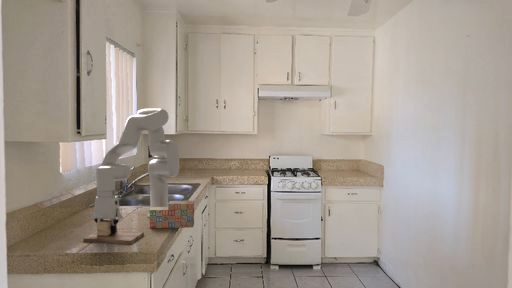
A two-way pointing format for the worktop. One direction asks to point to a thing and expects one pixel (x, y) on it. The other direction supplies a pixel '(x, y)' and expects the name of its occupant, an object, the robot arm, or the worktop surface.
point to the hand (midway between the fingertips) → (107, 232)
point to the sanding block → (104, 228)
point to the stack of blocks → (173, 215)
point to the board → (115, 237)
